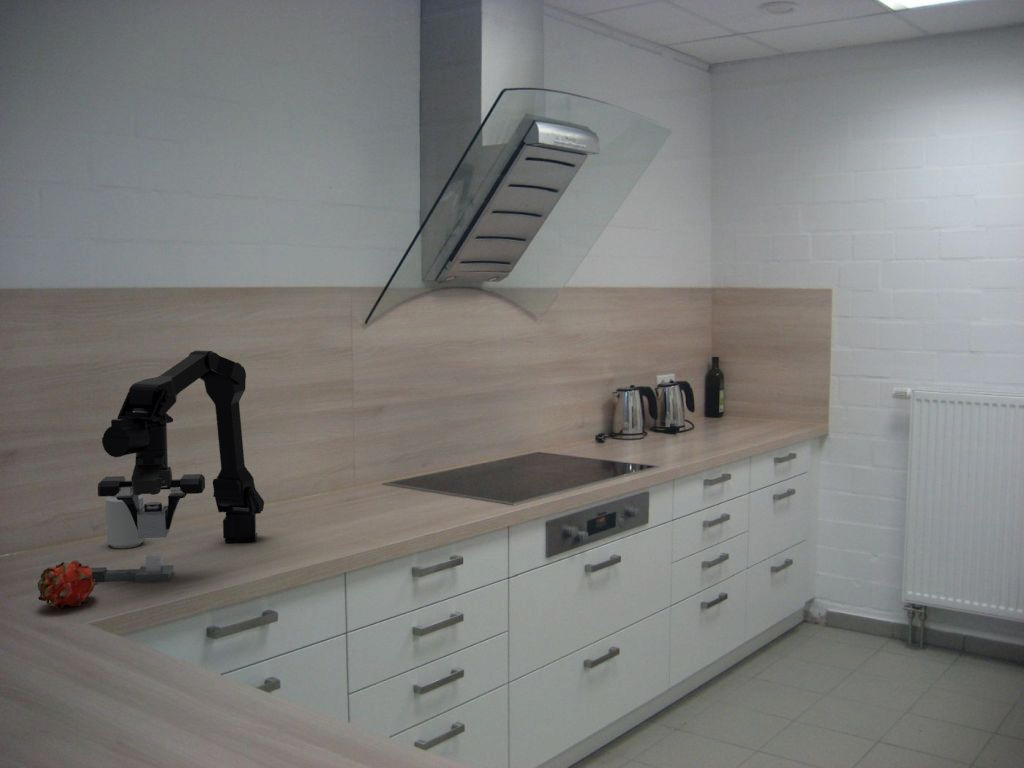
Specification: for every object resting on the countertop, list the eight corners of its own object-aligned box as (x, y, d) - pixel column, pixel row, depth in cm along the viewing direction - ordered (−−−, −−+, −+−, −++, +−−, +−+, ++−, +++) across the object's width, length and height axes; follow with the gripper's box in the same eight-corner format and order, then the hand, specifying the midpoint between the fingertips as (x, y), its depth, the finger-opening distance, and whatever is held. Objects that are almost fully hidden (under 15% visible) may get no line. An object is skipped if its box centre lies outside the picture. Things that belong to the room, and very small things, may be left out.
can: (151, 542, 219) (150, 487, 218) (130, 550, 212) (128, 494, 211) (122, 539, 221) (120, 485, 220) (99, 547, 214) (97, 492, 213)
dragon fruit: (36, 625, 170) (87, 614, 181) (71, 599, 168) (120, 589, 179) (15, 581, 172) (67, 572, 183) (50, 555, 170) (100, 548, 181)
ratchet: (173, 572, 196) (173, 549, 196) (168, 581, 190) (168, 558, 190) (64, 577, 193) (64, 554, 192) (56, 586, 187) (55, 562, 186)
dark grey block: (169, 531, 195) (168, 500, 194) (165, 537, 190) (164, 506, 190) (142, 532, 194) (141, 501, 194) (137, 538, 189) (136, 507, 189)
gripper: (89, 457, 181) (92, 542, 182) (197, 454, 184) (199, 538, 186) (102, 447, 192) (105, 527, 193) (204, 445, 195) (206, 523, 197)
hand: (153, 529), depth 192 cm, fingers closed on dark grey block, 5 cm apart
